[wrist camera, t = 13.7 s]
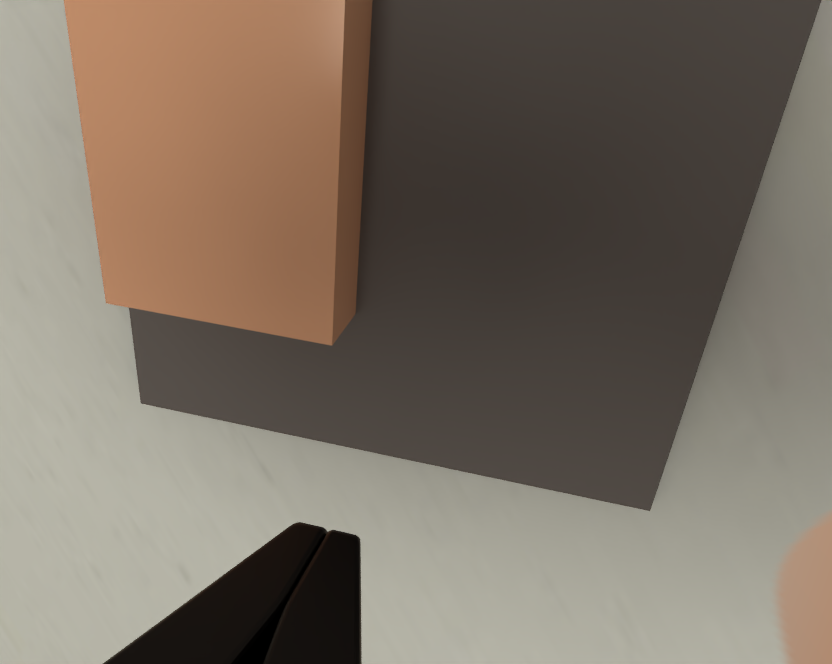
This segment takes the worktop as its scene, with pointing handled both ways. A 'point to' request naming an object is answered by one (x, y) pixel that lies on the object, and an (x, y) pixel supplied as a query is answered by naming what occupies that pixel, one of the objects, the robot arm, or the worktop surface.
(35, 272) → the worktop surface
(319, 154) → the terracotta brick
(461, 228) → the rubber mat
